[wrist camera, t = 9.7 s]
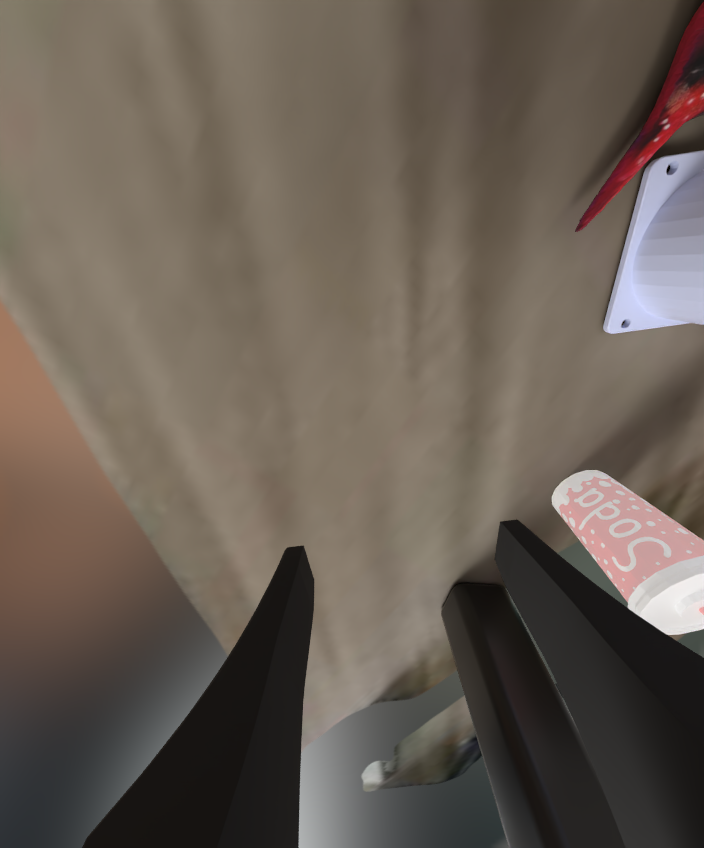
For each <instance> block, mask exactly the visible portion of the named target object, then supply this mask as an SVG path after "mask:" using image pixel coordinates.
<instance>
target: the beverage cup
mask: <svg viewBox="0 0 704 848" xmlns="http://www.w3.org/2000/svg"><path fill="white" fill-rule="evenodd" d="M552 505H553V506H554V508H555V509H556V510H557V512H558V513H559V514H560V515H561V517H562V518H563V519H564V521H565V522H566V523H567V524H568V526H569V527H570V528H571V530H572V531H573V532H574V534H575V535H576V536H577V537H578V539H579V540H580V541H581V543H582V544H583V545H584V546H585V548H586V549H587V550H588V551H589V553H590V554H591V555H592V557H593V558H594V559H595V561H596V562H597V563H598V564H599V566H600V567H601V568H602V570H603V571H604V572H605V573H606V575H607V576H608V577H609V579H610V580H611V581H612V582H613V584H614V585H615V586H616V587H617V589H618V590H619V592H620V593H621V594H622V595H623V597H624V598H625V599H626V601H627V602H628V609H630V610H631V611H633V612H634V613H635V614H637V615H638V616H640V617H641V618H643V619H644V620H646V621H647V622H649V623H650V624H652V625H653V626H655V627H656V628H657V629H659V630H660V631H662V632H663V633H665V634H666V635H674V634H683V633H688V632H692V631H697V630H702V629H704V541H703V540H702V539H700V538H699V537H697V536H696V535H695V534H693V533H692V532H690V531H689V530H687V529H686V528H684V527H683V526H681V525H680V524H679V523H677V522H676V521H674V520H673V519H671V518H670V517H668V516H667V515H665V514H664V513H662V512H661V511H660V510H658V509H657V508H655V507H654V506H652V505H651V504H649V503H648V502H646V501H645V500H644V499H642V498H641V497H639V496H638V495H636V494H635V493H633V492H632V491H630V490H629V489H627V488H626V487H625V486H623V485H622V484H620V483H619V482H617V481H616V480H614V479H613V478H611V477H610V476H609V475H607V474H605V473H603V472H601V471H598V470H585V471H582V472H579V473H575V474H573V475H571V476H570V477H568V478H566V479H565V480H563V481H562V482H561V483H560V484H559V485H558V486H557V487H556V489H555V491H554V493H553V495H552Z"/></svg>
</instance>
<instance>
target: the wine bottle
mask: <svg viewBox="0 0 704 848" xmlns="http://www.w3.org/2000/svg"><path fill="white" fill-rule="evenodd" d="M441 616H442V619H443V623H444V626H445V629H446V633H447V636H448V640H449V643H450V647H451V650H452V653H453V657H454V660H455V664H456V667H457V671H458V674H459V678H460V681H461V684H462V688H463V691H464V695H465V698H466V702H467V705H468V708H469V712H470V715H471V719H472V722H473V726H474V729H475V733H476V736H477V739H478V743H479V746H480V750H481V753H482V757H483V760H484V764H485V767H486V770H487V774H488V777H489V781H490V784H491V788H492V791H493V794H494V798H495V801H496V805H497V808H498V811H499V815H500V819H501V822H502V825H503V829H504V832H505V836H506V839H507V843H508V846H509V848H626V847H625V845H624V842H623V840H622V837H621V834H620V832H619V829H618V827H617V824H616V822H615V819H614V816H613V814H612V811H611V809H610V806H609V804H608V801H607V799H606V796H605V794H604V791H603V789H602V786H601V784H600V782H599V779H598V777H597V774H596V772H595V769H594V767H593V765H592V762H591V760H590V757H589V755H588V752H587V750H586V748H585V746H584V743H583V741H582V739H581V736H580V734H579V732H578V729H577V727H576V725H575V723H574V721H573V719H572V717H571V715H570V713H569V711H568V709H567V707H566V705H565V703H564V701H563V699H562V697H561V695H560V693H559V691H558V689H557V687H556V686H555V684H554V682H553V680H552V678H551V676H550V674H549V672H548V670H547V668H546V666H545V664H544V662H543V660H542V658H541V657H540V654H539V652H538V651H537V649H536V647H535V645H534V643H533V641H532V639H531V637H530V635H529V633H528V631H527V629H526V627H525V625H524V623H523V621H522V619H521V617H520V616H519V613H518V612H517V610H516V608H515V606H514V604H513V602H512V600H511V598H510V596H509V594H508V592H507V591H506V589H505V588H504V587H502V586H498V585H483V584H468V583H464V584H458V585H456V586H455V587H454V588H453V589H452V591H451V593H450V595H449V597H448V599H447V601H446V603H445V604H444V606H443V608H442V611H441Z"/></svg>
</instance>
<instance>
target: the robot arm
mask: <svg viewBox="0 0 704 848" xmlns="http://www.w3.org/2000/svg"><path fill="white" fill-rule="evenodd" d="M668 165H670V171H669V173H668V174H667V173H666V169H667V167H668ZM624 320H625V322H624V324H623V325H622V326H621V324H622V322H623V321H624ZM687 323H696V324H702V325H704V150H701V151H694V152H688V153H682V154H675V155H669V156H663V157H660V158H658V159H655V160H653V161H652V162H651V163H649V165H648V166H647V167H646V169H645V172H644V174H643V178H642V182H641V186H640V189H639V193H638V197H637V201H636V204H635V208H634V212H633V216H632V220H631V223H630V227H629V231H628V235H627V238H626V242H625V246H624V250H623V254H622V257H621V261H620V265H619V269H618V272H617V276H616V280H615V284H614V287H613V291H612V295H611V299H610V303H609V306H608V310H607V314H606V318H605V321H604V326H603V329H604V331H605V332H607V333H612V334H615V333H622V332H629V331H636V330H643V329H651V328H658V327H665V326H672V325H680V324H687ZM495 561H496V564H497V566H498V569H499V571H500V574H501V576H502V578H503V581H504V583H505V586H506V588H507V590H508V592H509V594H510V596H511V597H512V599H513V601H514V603H515V605H516V606H517V608H518V610H519V612H520V614H521V616H522V618H523V619H524V621H525V623H526V625H527V627H528V628H529V630H530V632H531V634H532V636H533V638H534V640H535V641H536V643H537V645H538V647H539V649H540V650H541V652H542V654H543V656H544V658H545V660H546V662H547V664H548V666H549V667H550V669H551V671H552V673H553V675H554V678H555V680H556V682H557V684H558V686H559V689H560V691H561V693H562V695H563V698H564V700H565V702H566V704H567V706H568V709H569V711H570V713H571V715H572V718H573V720H574V722H575V725H576V727H577V729H578V732H579V734H580V736H581V739H582V741H583V743H584V746H585V748H586V750H587V752H588V755H589V757H590V760H591V762H592V765H593V767H594V769H595V772H596V774H597V777H598V779H599V782H600V784H601V786H602V789H603V791H604V794H605V796H606V799H607V801H608V804H609V806H610V809H611V811H612V814H613V816H614V819H615V822H616V824H617V827H618V829H619V832H620V834H621V837H622V840H623V842H624V845H625V847H626V848H704V658H703V657H702V656H700V655H698V654H697V653H695V652H693V651H692V650H690V649H688V648H687V647H685V646H684V645H682V644H680V643H679V642H677V641H676V640H674V639H673V638H671V637H670V636H668V635H666V634H665V633H663V632H662V631H660V630H659V629H657V628H656V627H655V626H653V625H652V624H650V623H649V622H647V621H646V620H644V619H643V618H641V617H640V616H638V615H637V614H635V613H634V612H633V611H631V610H630V609H628V608H627V607H625V606H624V605H623V604H621V603H620V602H618V601H617V600H616V599H615V598H613V597H612V596H610V595H609V594H608V593H606V592H605V591H604V590H602V589H601V588H600V587H598V586H597V585H596V584H595V583H593V582H592V581H591V580H589V579H588V578H587V577H585V576H584V575H583V574H582V573H581V572H579V571H578V570H577V569H576V568H574V567H573V566H572V565H571V564H569V563H568V562H567V561H566V560H564V559H563V558H562V557H561V556H560V555H558V554H557V553H556V552H555V551H554V550H552V549H551V548H550V547H549V546H548V545H547V544H545V543H544V542H543V541H542V540H541V539H539V538H538V537H537V536H536V535H535V534H534V533H532V532H531V531H530V530H529V529H528V528H527V527H526V526H524V525H523V524H522V523H521V522H520V521H518V520H510V521H502V522H500V526H499V533H498V540H497V546H496V553H495ZM313 611H314V578H313V575H312V571H311V568H310V565H309V562H308V558H307V555H306V552H305V549H304V546H296V547H288V548H287V549H286V550H285V551H284V554H283V556H282V558H281V561H280V563H279V565H278V567H277V569H276V571H275V573H274V576H273V578H272V580H271V582H270V584H269V586H268V588H267V590H266V592H265V593H264V595H263V597H262V599H261V601H260V603H259V605H258V607H257V609H256V611H255V612H254V614H253V616H252V618H251V619H250V621H249V623H248V625H247V626H246V628H245V630H244V631H243V633H242V635H241V637H240V638H239V640H238V642H237V643H236V645H235V647H234V648H233V650H232V651H231V653H230V655H229V656H228V658H227V659H226V661H225V662H224V664H223V665H222V667H221V668H220V670H219V672H218V673H217V674H216V676H215V677H214V679H213V680H212V682H211V683H210V685H209V686H208V687H207V689H206V690H205V692H204V693H203V694H202V696H201V697H200V699H199V700H198V702H197V703H196V704H195V706H194V707H193V709H192V710H191V711H190V713H189V714H188V715H187V717H186V718H185V719H184V721H183V722H182V723H181V725H180V726H179V727H178V728H177V730H176V731H175V732H174V734H173V735H172V736H171V737H170V739H169V740H168V741H167V742H166V744H165V745H164V746H163V748H162V749H161V750H160V751H159V753H158V754H157V755H156V756H155V758H154V759H153V760H152V761H151V763H150V764H149V765H148V766H147V768H146V769H145V770H144V771H143V773H142V774H141V775H140V776H139V777H138V779H137V780H136V781H135V782H134V783H133V784H132V786H131V787H130V788H129V789H128V790H127V791H126V793H125V794H124V795H123V796H122V797H121V798H120V800H119V801H118V802H117V803H116V804H115V806H114V807H113V808H112V809H111V810H110V811H109V812H108V814H107V815H106V816H105V817H104V818H103V819H102V821H101V822H100V823H99V824H98V825H97V826H96V828H95V829H94V830H93V831H92V832H91V834H90V835H89V836H88V837H87V839H86V841H85V843H84V845H83V847H82V848H298V836H299V833H298V832H299V795H300V790H299V789H300V763H301V762H300V761H301V736H302V715H303V698H304V686H305V678H306V670H307V661H308V653H309V645H310V637H311V629H312V620H313Z"/></svg>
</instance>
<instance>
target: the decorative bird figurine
mask: <svg viewBox="0 0 704 848" xmlns="http://www.w3.org/2000/svg"><path fill="white" fill-rule="evenodd" d="M703 114H704V1H703V3H702V4H701V5H700V7H699V8H698V10H697V11H696V13H695V14H694V16H693V17H692V19H691V21H690V23H689V24H688V26H687V28H686V30H685V32H684V34H683V36H682V39H681V41H680V43H679V46H678V48H677V51H676V54H675V57H674V59H673V62H672V64H671V67H670V70H669V72H668V75H667V78H666V81H665V83H664V85H663V88H662V90H661V93H660V95H659V97H658V100H657V102H656V104H655V107H654V108H653V110H652V112H651V114H650V116H649V118H648V120H647V121H646V123H645V125H644V126H643V128H642V130H641V132H640V134H639V135H638V137H637V138H636V140H635V141H634V142H633V144H632V145H631V146H630V148H629V149H628V151H627V152H626V154H625V155H624V157H623V158H622V159H621V161H620V162H619V163H618V165H617V166H616V168H615V169H614V171H613V172H612V174H611V176H610V177H609V178H608V180H607V181H606V183H605V184H604V185H603V187H602V188H601V190H600V191H599V193H598V194H597V195H596V197H595V198H594V200H593V202H592V203H591V205H590V206H589V208H588V209H587V211H586V212H585V213H584V215H583V216H582V218H581V220H580V222H579V224H578V226H577V228H576V230H575V232H578V231H580V230H582V229H583V228H584V227H586V226H587V224H588V223H589V222H590V221H591V220H592V219H593V218H594V217H595V216H596V215H597V214H598V213H600V212H601V211H602V210H603V209H604V207H605V206H606V204H607V203H608V202H609V201H611V200H612V199H613V197H614V196H615V195H616V194H617V193H618V192H619V191H620V190H621V189H622V187H623V186H624V185H625V184H626V183H627V182H628V181H630V180H631V179H632V178H633V176H634V175H635V174H636V173H637V172H638V171H639V170H640V169H641V167H642V166H643V165H644V164H645V163H646V162H647V161H648V160H649V159H650V158H651V157H652V156H653V155H654V153H655V152H656V151H657V150H658V149H659V148H660V147H661V146H662V145H663V144H664V143H665V142H666V141H667V140H668V139H669V138H670V137H671V136H672V135H673V133H674V132H675V131H676V130H677V129H678V128H680V127H681V126H682V125H683V124H684V123H685V122H687V121H689V120H691V119H693V118H695V117H698V116H700V115H703Z"/></svg>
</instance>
